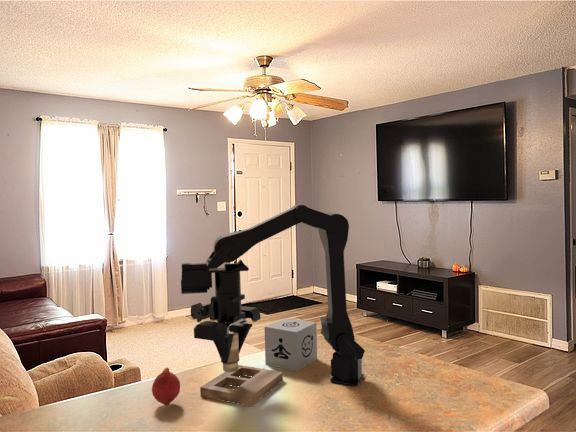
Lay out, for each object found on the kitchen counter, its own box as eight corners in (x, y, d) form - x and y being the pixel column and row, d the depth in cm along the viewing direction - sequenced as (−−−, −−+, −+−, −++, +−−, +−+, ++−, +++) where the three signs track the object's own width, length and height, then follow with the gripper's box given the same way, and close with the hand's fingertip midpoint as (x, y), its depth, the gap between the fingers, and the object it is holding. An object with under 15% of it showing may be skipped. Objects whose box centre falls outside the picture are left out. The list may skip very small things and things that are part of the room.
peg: (243, 367, 105) (241, 332, 105) (233, 373, 101) (232, 338, 101) (228, 364, 107) (226, 330, 106) (217, 371, 103) (216, 336, 103)
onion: (173, 412, 95) (171, 373, 95) (147, 410, 96) (146, 372, 96) (185, 399, 101) (183, 363, 100) (160, 398, 102) (159, 362, 101)
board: (282, 380, 110) (282, 372, 110) (250, 406, 97) (250, 397, 97) (236, 372, 116) (236, 364, 116) (200, 395, 102) (200, 387, 102)
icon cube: (286, 353, 130) (285, 318, 129) (317, 359, 124) (316, 322, 124) (265, 364, 121) (264, 326, 121) (297, 371, 116) (296, 332, 115)
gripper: (221, 281, 115) (223, 343, 116) (172, 297, 98) (174, 368, 99) (260, 284, 110) (262, 348, 111) (215, 301, 94) (217, 376, 94)
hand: (230, 359), depth 104 cm, fingers closed on peg, 4 cm apart
